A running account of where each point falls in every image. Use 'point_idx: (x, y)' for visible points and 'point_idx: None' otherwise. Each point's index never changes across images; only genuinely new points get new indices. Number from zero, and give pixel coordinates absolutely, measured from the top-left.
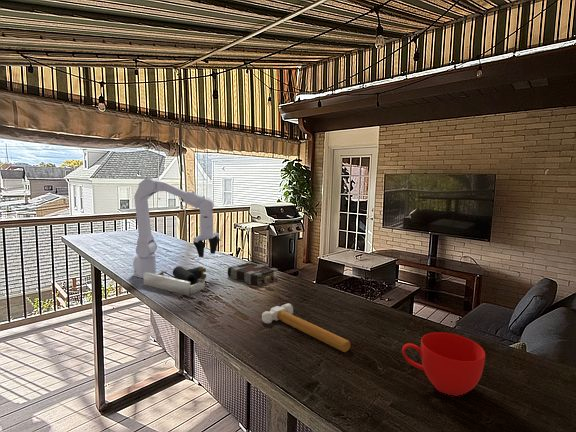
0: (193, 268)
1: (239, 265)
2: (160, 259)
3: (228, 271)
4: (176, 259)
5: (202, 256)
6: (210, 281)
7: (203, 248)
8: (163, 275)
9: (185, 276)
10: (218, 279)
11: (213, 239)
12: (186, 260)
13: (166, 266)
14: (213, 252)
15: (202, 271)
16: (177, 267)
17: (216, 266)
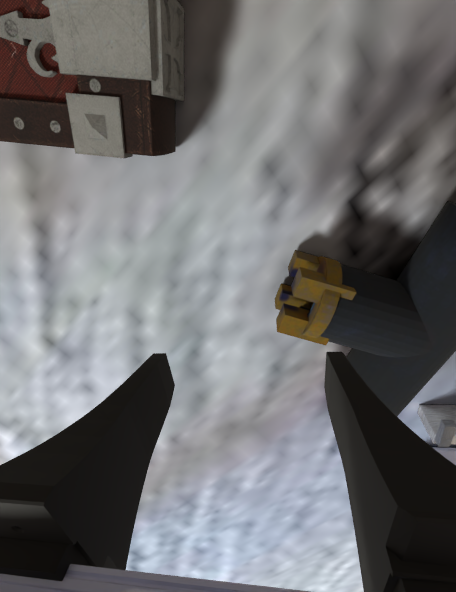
0: (365, 335)
1: (30, 127)
2: (218, 533)
3: (168, 141)
4: (178, 505)
5: (344, 357)
6: (334, 170)
7: (375, 428)
8: (427, 418)
9: None
10: (266, 158)
11: (86, 533)
12: (157, 479)
13: (266, 485)
14: (162, 369)
15: (332, 273)
16: None
17: (106, 350)
